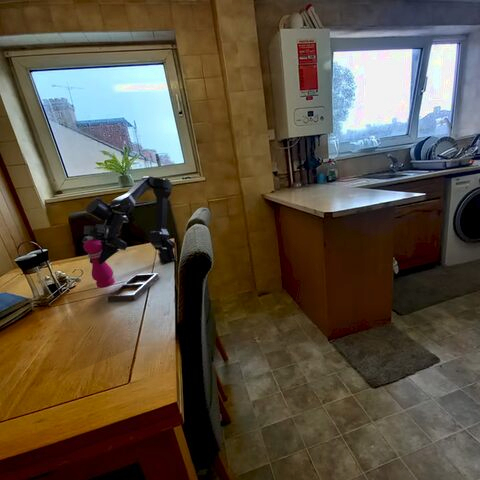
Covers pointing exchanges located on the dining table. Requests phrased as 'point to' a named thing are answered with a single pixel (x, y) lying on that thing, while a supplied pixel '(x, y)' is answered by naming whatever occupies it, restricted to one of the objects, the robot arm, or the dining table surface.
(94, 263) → the pepper mill
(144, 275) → the stand
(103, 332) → the dining table surface
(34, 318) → the dining table surface
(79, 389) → the dining table surface
